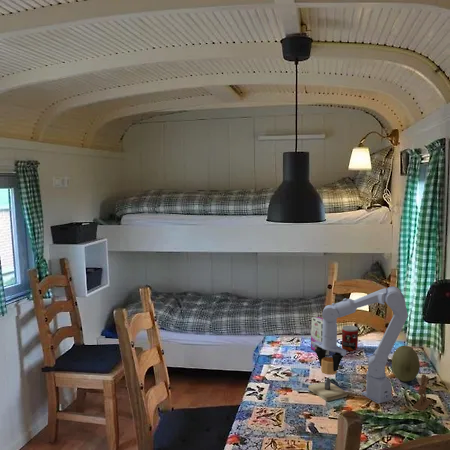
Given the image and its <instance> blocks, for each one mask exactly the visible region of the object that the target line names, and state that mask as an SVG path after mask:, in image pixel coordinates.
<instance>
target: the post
mask: <svg viewBox="0 0 450 450" xmlns="http://www.w3.org/2000/svg"><path fill="white" fill-rule="evenodd" d="M324 382H325V390H330V383H331V379H330V378H329V377H326V378H324Z"/></svg>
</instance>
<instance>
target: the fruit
mask: <svg viewBox="0 0 450 450" xmlns="http://www.w3.org/2000/svg"><path fill="white" fill-rule="evenodd" d="M420 367H421V365H420V359H419V356H418V353H417V351H416V350H415V349H414V348H412V347H411V346H408V345H400V346H399V347H397V348H396V349H395V350H394V352H393V354H392V358H391V369H392V373H393V374H394V376H395V377H396V378H397V379H398V380H399V381H400V382H401V381H402V382H405V383H406V382H410V381H411V382H412V381H413V380H414V379H416V378H417V377H418V374H419V371H420Z"/></svg>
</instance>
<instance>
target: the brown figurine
mask: <svg viewBox="0 0 450 450" xmlns="http://www.w3.org/2000/svg"><path fill="white" fill-rule="evenodd" d="M420 383H421V384H420V385H419V387H418V395H419V396H420V397H419V400H417V401H416V402H415V404H414V405H412V407H413V409H415V410H419V411H422V412H424V411H425V410H427V408H428V407H429V406H430V405H431V404H432V403H433V402H432V400H431V399H428V397H427V394H426V393H427V392H426V387H427V386H428V383H429V377H428V376H427V375H426V374H422V375H421V378H420Z"/></svg>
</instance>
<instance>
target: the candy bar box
mask: <svg viewBox="0 0 450 450" xmlns="http://www.w3.org/2000/svg"><path fill="white" fill-rule="evenodd" d="M322 327H323V317H320V316H317V317H316V316H315V317H314V316H313V317H311V327H310V328H311V330H310V331H311V332H310V334H311V335H310V350H312V351H313V352H315V349H316V348H317V347H313V342H315V341H317V342H322ZM330 352H331V351H328V350H326V354H325V357H330V355H331V354H330ZM315 353H316V352H315Z"/></svg>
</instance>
